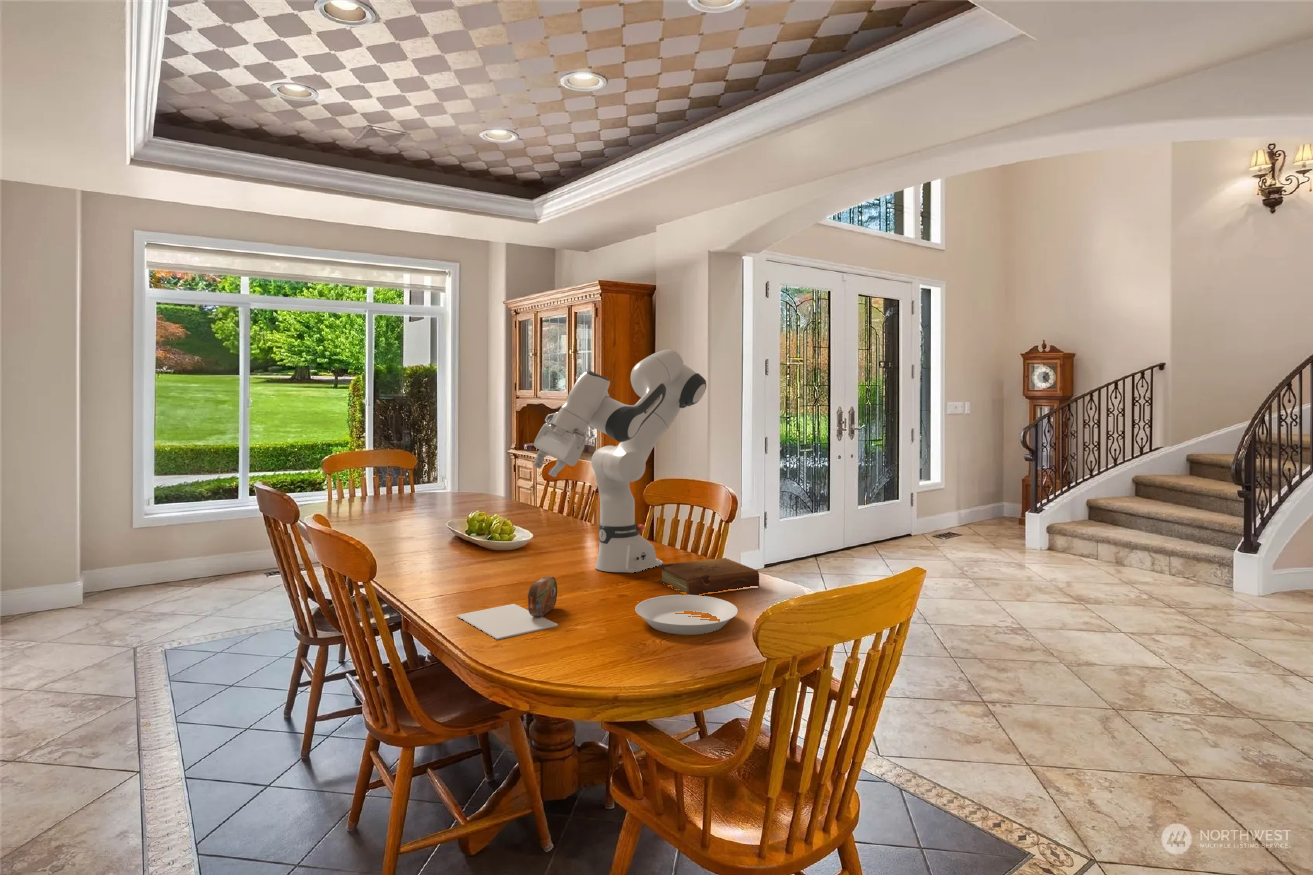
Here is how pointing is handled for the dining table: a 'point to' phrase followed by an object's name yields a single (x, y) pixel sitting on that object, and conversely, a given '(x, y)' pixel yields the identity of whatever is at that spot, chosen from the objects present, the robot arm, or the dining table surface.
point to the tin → (542, 596)
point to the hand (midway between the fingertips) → (543, 471)
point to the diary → (708, 576)
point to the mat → (506, 621)
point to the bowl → (664, 618)
